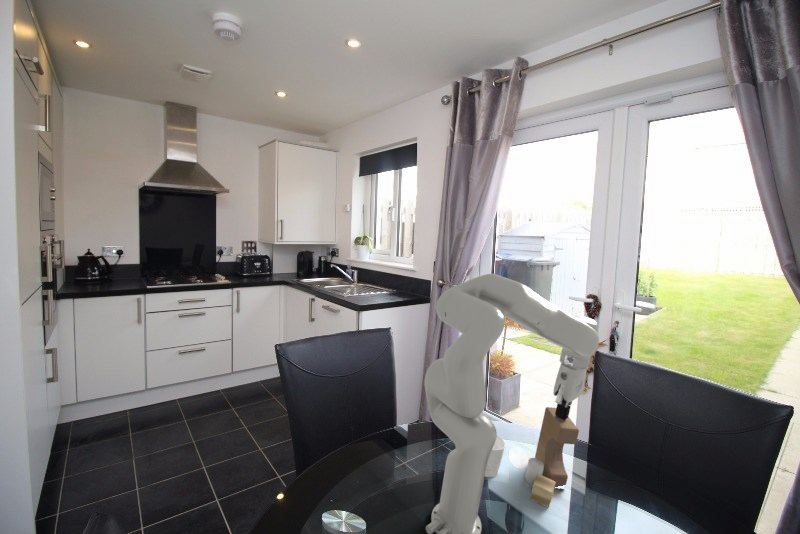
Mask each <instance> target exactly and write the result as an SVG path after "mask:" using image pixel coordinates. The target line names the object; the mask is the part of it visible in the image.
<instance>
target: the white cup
mask: <svg viewBox="0 0 800 534" xmlns="http://www.w3.org/2000/svg"><path fill="white" fill-rule="evenodd" d="M505 448H506V441H505V440H504V439H503V438H502V437H501V435H498V434H497V437H496V441H495V444H494V446H493V448H492V451H491V453H490V456H489V459H488V462H487V466H486V471H485V476H484V478H485V477H486V478H494V477H497V475H498V473H499V469H500V466H501V463H502V461H503V460H502V459H503V456H504V452H505Z"/></svg>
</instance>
